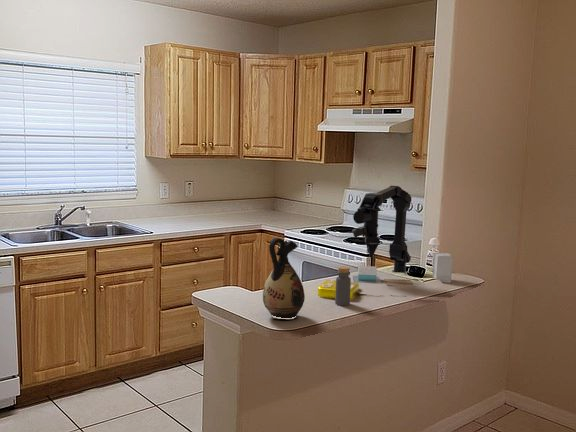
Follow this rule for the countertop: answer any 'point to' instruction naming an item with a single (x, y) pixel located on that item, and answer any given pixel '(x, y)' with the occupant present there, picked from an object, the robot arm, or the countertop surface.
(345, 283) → the bottle
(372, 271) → the block
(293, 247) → the ceramic jug
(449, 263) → the supplement box
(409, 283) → the walnut stand
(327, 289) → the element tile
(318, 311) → the countertop surface
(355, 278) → the slate stand
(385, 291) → the countertop surface
